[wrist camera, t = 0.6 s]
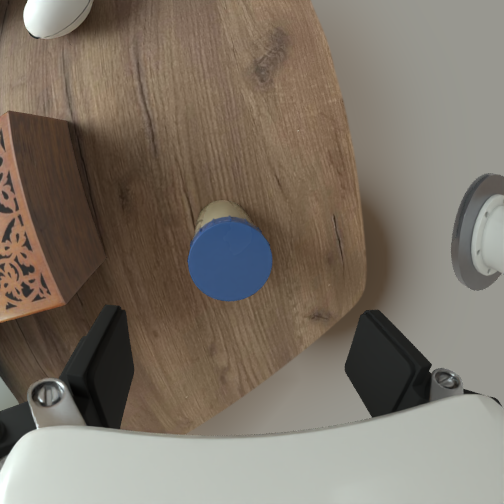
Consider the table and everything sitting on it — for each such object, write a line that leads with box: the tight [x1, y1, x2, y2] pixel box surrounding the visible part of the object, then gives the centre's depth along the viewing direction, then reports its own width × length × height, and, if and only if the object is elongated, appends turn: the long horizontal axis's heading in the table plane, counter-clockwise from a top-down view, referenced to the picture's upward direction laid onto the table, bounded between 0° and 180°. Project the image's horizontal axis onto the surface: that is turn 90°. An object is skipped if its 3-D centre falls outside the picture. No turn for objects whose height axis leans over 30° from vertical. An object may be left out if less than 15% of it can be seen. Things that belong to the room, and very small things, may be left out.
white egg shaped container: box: [23, 0, 93, 45], centre depth 15 cm, size 10×7×7 cm
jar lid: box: [187, 215, 272, 301], centre depth 19 cm, size 5×5×2 cm
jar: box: [194, 200, 254, 237], centre depth 23 cm, size 5×5×9 cm
